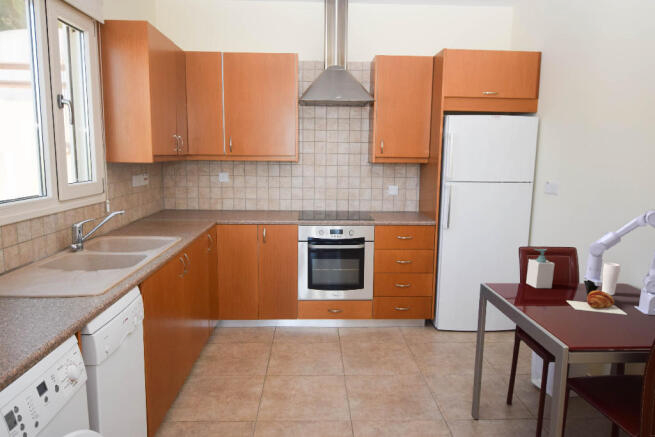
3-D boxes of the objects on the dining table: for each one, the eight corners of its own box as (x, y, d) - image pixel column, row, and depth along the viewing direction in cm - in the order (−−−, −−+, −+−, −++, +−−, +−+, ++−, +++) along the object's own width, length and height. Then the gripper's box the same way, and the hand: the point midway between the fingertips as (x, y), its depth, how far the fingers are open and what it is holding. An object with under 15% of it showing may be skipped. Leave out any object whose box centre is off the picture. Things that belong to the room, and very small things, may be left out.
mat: (627, 314, 183) (627, 314, 183) (575, 309, 187) (575, 309, 187) (614, 305, 194) (614, 305, 194) (566, 300, 198) (566, 300, 198)
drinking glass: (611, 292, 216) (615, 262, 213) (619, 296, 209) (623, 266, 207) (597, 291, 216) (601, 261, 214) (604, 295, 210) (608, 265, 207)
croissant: (600, 306, 203) (594, 289, 205) (624, 301, 196) (617, 284, 198) (582, 313, 190) (575, 295, 192) (607, 309, 182) (599, 290, 184)
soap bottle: (525, 283, 225) (529, 247, 222) (541, 283, 226) (545, 247, 223) (535, 288, 216) (539, 250, 214) (551, 288, 218) (556, 251, 215)
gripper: (578, 263, 206) (574, 291, 208) (590, 271, 192) (586, 300, 194) (594, 265, 205) (591, 292, 207) (608, 272, 191) (603, 302, 193)
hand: (590, 296), depth 201 cm, fingers closed
